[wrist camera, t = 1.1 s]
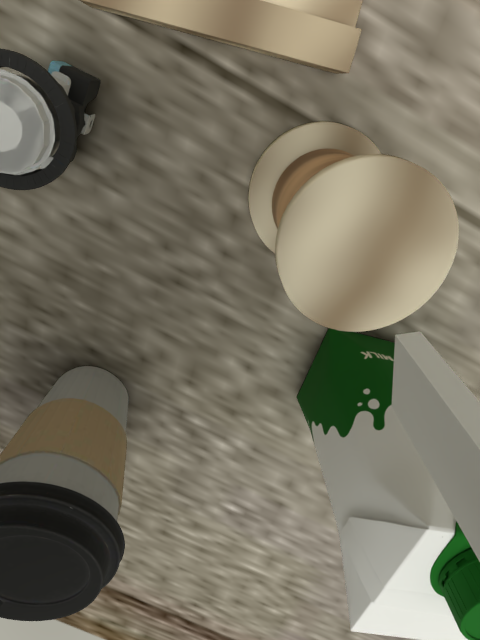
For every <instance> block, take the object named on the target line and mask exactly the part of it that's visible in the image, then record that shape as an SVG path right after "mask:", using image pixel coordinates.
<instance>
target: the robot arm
mask: <svg viewBox="0 0 480 640" xmlns="http://www.w3.org/2000/svg"><path fill="white" fill-rule="evenodd" d="M392 408H393V409H394V411H395V413H396V415H397V416H398V418H399V420H400V422H401V423H402V425H403V427H404V429H405V431H406V432H407V434H408V436H409V438H410V439H411V441H412V443H413V445H414V447H415V448H416V450H417V452H418V454H419V455H420V457H421V459H422V461H423V462H424V464H425V466H426V468H427V470H428V471H429V473H430V475H431V477H432V478H433V480H434V482H435V484H436V485H437V487H438V489H439V491H440V493H441V494H442V496H443V498H444V500H445V501H446V503H447V505H448V507H449V509H450V510H451V512H452V514H453V516H454V517H455V519H456V521H457V523H458V524H459V526H460V528H461V530H462V532H463V533H464V535H465V537H466V539H467V540H468V542H469V544H470V546H471V548H472V549H473V551H474V553H475V555H476V556H477V558H478V560H479V562H480V401H479V400H478V399H477V398H476V397H475V396H474V394H473V393H472V392H471V391H470V390H469V388H468V387H467V386H466V385H465V384H464V383H463V381H462V380H461V379H460V378H459V377H458V375H457V374H456V373H455V372H454V371H453V370H452V368H451V367H450V366H449V365H448V364H447V362H446V361H445V360H444V359H443V358H442V356H441V355H440V354H439V353H438V352H437V351H436V349H435V348H434V347H433V346H432V345H431V343H430V342H429V341H428V340H427V339H426V338H425V336H424V335H423V334H422V333H421V332H420V331H419V332H412V333H405V334H397V335H395V348H394V368H393V387H392Z"/></svg>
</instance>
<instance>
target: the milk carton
mask: <svg viewBox="0 0 480 640" xmlns="http://www.w3.org/2000/svg"><path fill="white" fill-rule="evenodd" d="M394 348H395V343H393V342H389V341H386V340H382V339H378V338H374V337H370V336H367V335H363V334H359V333H355V332H347V331H339V330H335V329H331V328H329V329H328V331H327V333H326V335H325V338H324V340H323V342H322V344H321V346H320V348H319V350H318V353H317V355H316V357H315V359H314V361H313V363H312V366H311V368H310V370H309V372H308V374H307V376H306V378H305V381H304V383H303V385H302V387H301V389H300V391H299V393H298V396H297V399H298V402H299V404H300V406H301V409H302V411H303V414H304V416H305V419H306V421H307V423H308V426H309V428H310V431H311V434H312V438H313V441H314V445H315V448H316V452H317V456H318V459H319V463H320V466H321V470H322V473H323V477H324V480H325V484H326V488H327V491H328V495H329V498H330V502H331V505H332V509H333V513H334V516H335V520H336V523H337V527H338V532H339V537H340V544H341V552H342V560H343V568H344V577H345V585H346V593H347V602H348V610H349V619H350V628H351V631H354V632H362V633H370V634H379V635H387V636H395V637H403V638H411V639H419V640H480V562H479V560H478V558H477V556H476V555H475V553H474V551H473V549H472V548H471V546H470V544H469V542H468V540H467V539H466V537H465V535H464V533H463V532H462V530H461V528H460V526H459V524H458V523H457V521H456V519H455V517H454V516H453V514H452V512H451V510H450V509H449V507H448V505H447V503H446V501H445V500H444V498H443V496H442V494H441V493H440V491H439V489H438V487H437V485H436V484H435V482H434V480H433V478H432V477H431V475H430V473H429V471H428V470H427V468H426V466H425V464H424V462H423V461H422V459H421V457H420V455H419V454H418V452H417V450H416V448H415V447H414V445H413V443H412V441H411V439H410V438H409V436H408V434H407V432H406V431H405V429H404V427H403V425H402V423H401V422H400V420H399V418H398V416H397V415H396V413H395V411H394V409H393V408H392V387H393V368H394Z"/></svg>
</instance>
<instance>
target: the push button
mask: <svg viewBox="0 0 480 640" xmlns="http://www.w3.org/2000/svg"><path fill="white" fill-rule="evenodd" d="M1 67H9V68H12V69H15V70H17V71H19V72H21V73H23V74H25V75H26V76H25V75H15V74H12V73H10V72H7V71H5V70H1V69H0V187H4V188H8V189H14V190H30V189H35V188H39V187H42V186H44V185H46V184H48V183H50V182H52V181H53V180H55V179H56V178H57V177H59V176H60V175H61V174H62V173H63V172H64V171H65V169H66V168H67V167H68V165H69V163H70V162H71V161H73V159H74V157H75V154H76V151H77V146H76V141H77V137H78V136H79V135H80V133H81V134H83V135H85V134H87V133H90V131H91V129H92V125H93V122H94V119H95V114H91V115H90V116H89V115H87V114H85V113H84V112H85V109H86V105H87V103H89V102H90V101H91V100H92V99H94V98H95V97H96V95H97V93H98V89H99V86H100V80H99V79H97V78H95V77H93V76H91V75H89V74H87V73H85V72H83V71H81V70H79V69H77V68H75V67H73V66H71V65H69V64H67V63H65V62H63V61H62V62H61V61H51V63H50V66H49V69H48V71H47V70H46V69H45V68H43V67H42V66H41V65H39V64H38V63H37V62H35V61H33V60H32V59H30V58H28V57H26V56H24V55H22V54H19V53H17V52H14V51H10V50H5V49H0V68H1ZM90 123H91V124H90ZM40 166H41V167H40ZM39 167H40V169H38V168H39ZM37 169H38V170H37Z"/></svg>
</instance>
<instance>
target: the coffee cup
mask: <svg viewBox="0 0 480 640" xmlns="http://www.w3.org/2000/svg"><path fill="white" fill-rule="evenodd" d="M128 403H129V398H128V393H127V390H126V388H125V387H124V385H123V384H122V382H121V381H120V380H119V379H118V378H117V377H115V376H114V375H113V374H111V373H110V372H108V371H106V370H104V369H101V368H98V367H93V366H82V367H77V368H74V369H72V370H69V371H68V372H66V373H65V374H63V375H62V376H61V377H60V378H59V379H58V380H57V382H56V383H55V384H54V386H53V387H52V388H51V390H50V391H49V393H48V394H47V395H46V397H45V398H44V399H43V401H42V402H41V403H40V405H39V406H38V408H37V409H35V410H34V411H33V412H32V413H31V414H30V415H29V416H28V418H27V419H26V420H25V422H24V423H23V425H22V426H21V427H20V429H19V430H18V431H17V433H16V434H15V435H14V437H13V438H12V440H11V441H10V442H9V444H8V445H7V446H6V448H5V449H4V451H3V452H2V453H1V455H0V617H1V618H6V619H13V620H20V621H43V620H52V619H57V618H62V617H66V616H69V615H71V614H74V613H76V612H78V611H80V610H82V609H84V608H85V607H87V606H88V605H89V604H90V603H92V602H93V601H94V599H95V598H96V597H97V595H98V594H99V592H100V590H101V589H102V588H103V587H105V586H106V585H107V584H108V583H109V582H110V581H111V579H112V578H113V577H114V575H115V574H116V572H117V569H118V567H119V563H120V561H121V559H122V557H123V554H124V549H125V541H124V536H123V533H122V530H121V528H120V526H119V524H118V523H117V518H118V515H119V513H120V508H121V503H122V492H123V481H124V470H125V459H126V448H127V438H126V425H127V414H128Z"/></svg>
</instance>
